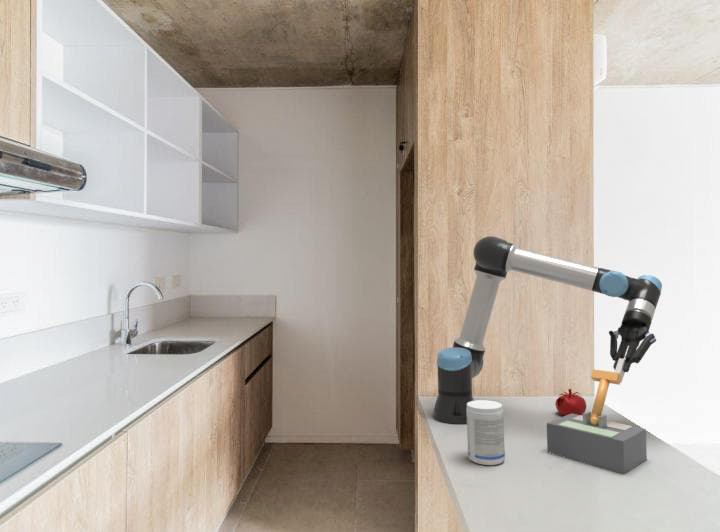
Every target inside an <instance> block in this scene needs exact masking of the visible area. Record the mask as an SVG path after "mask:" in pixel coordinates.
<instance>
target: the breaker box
mask: <svg viewBox="0 0 720 532" xmlns="http://www.w3.org/2000/svg"><path fill="white" fill-rule="evenodd" d="M591 413H592V411H589V410H588V411H585V413H583V415H577V414H572V413H571V414H569V415H566V416H561V417H558V418H556V419H554V420H551V421H549V422H546V446H547V453H549V452H551V453H550V454H552V453H554V454H553V455H556V454H558V455H557V456H559V455H561V456H560V457H563V456H565V457H564V458H566V457H568V458H567V459H569V458H572V459H571V460H573V459H575V460H574V461H576V460H578V461H577V462H580V461H582V462H581V463H583V462H585V463H584V464H587V463H588V465H590V464H591V466H594V465H595V466H594V467H597V466H598V468H601V469H604V468H605V469H604V470H608V471H612V472H615V473H618V474H621V475H625V474H627V473H629V472H630V471H632V470H633V469H635V468H636V467H639V466H640V465H641V464H642V463H644V462H646V461H647V460H648V459H647V458H648V457H647V452H648V451H647V429H646V428H642V427H637V426H633V425H629V424H628V425H627V424H624V423H619V422H614V421H610V420H608V419H607V417H608V416H607V415H608V414H604V413H602V415H601V416H599V424H598V425H593V424H592V423H591V422H590V418H591Z"/></svg>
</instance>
